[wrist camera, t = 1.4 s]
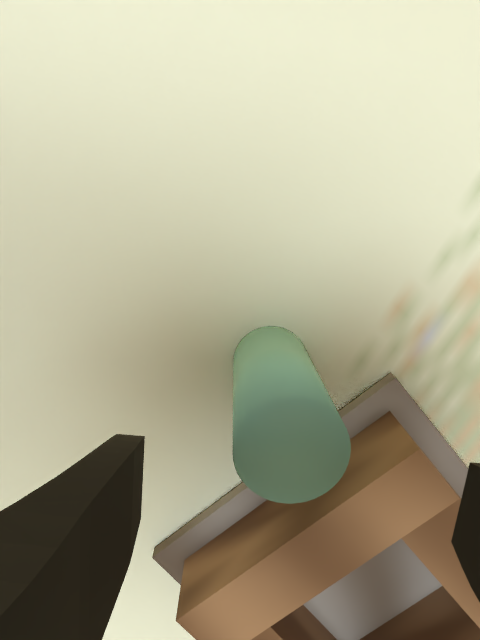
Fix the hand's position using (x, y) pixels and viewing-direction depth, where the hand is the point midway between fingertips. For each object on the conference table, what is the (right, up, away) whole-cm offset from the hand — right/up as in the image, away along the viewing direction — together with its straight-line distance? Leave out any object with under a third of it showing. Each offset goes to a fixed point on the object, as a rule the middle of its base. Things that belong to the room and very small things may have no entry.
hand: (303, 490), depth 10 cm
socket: (+4, -7, +11) cm, 14 cm away
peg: (0, +2, +8) cm, 9 cm away
